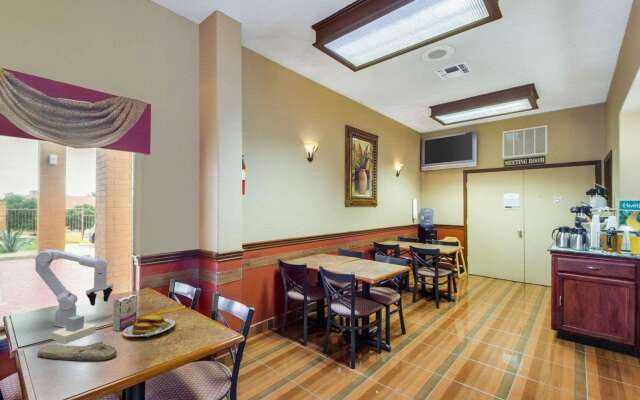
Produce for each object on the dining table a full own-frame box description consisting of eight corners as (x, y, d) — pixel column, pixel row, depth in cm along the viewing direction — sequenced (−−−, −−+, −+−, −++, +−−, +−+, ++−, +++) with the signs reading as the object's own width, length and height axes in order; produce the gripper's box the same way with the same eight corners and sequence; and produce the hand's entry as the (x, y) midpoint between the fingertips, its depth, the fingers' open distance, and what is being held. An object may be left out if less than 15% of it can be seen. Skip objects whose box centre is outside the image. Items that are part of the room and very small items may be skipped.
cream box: (51, 340, 149) (51, 332, 149) (82, 329, 162) (82, 322, 162) (64, 344, 145) (65, 336, 145) (95, 333, 158) (95, 325, 158)
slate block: (65, 330, 151) (66, 318, 151) (75, 326, 156) (76, 315, 156) (73, 331, 150) (74, 319, 150) (83, 327, 155) (84, 316, 155)
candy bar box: (129, 322, 171) (130, 294, 172) (136, 323, 170) (137, 295, 171) (111, 330, 160) (113, 300, 161) (119, 331, 159) (120, 300, 160)
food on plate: (122, 346, 144) (122, 332, 145) (121, 328, 165) (121, 316, 165) (179, 334, 159) (179, 322, 159) (171, 319, 179) (172, 308, 179)
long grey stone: (51, 351, 140) (29, 364, 130) (50, 340, 140) (29, 352, 130) (123, 351, 138) (107, 363, 128) (122, 340, 138) (106, 351, 128)
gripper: (92, 283, 166) (91, 308, 166) (117, 277, 180) (116, 300, 180) (83, 282, 168) (82, 306, 168) (108, 276, 182) (107, 299, 182)
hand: (99, 303), depth 174 cm, fingers open, 7 cm apart
